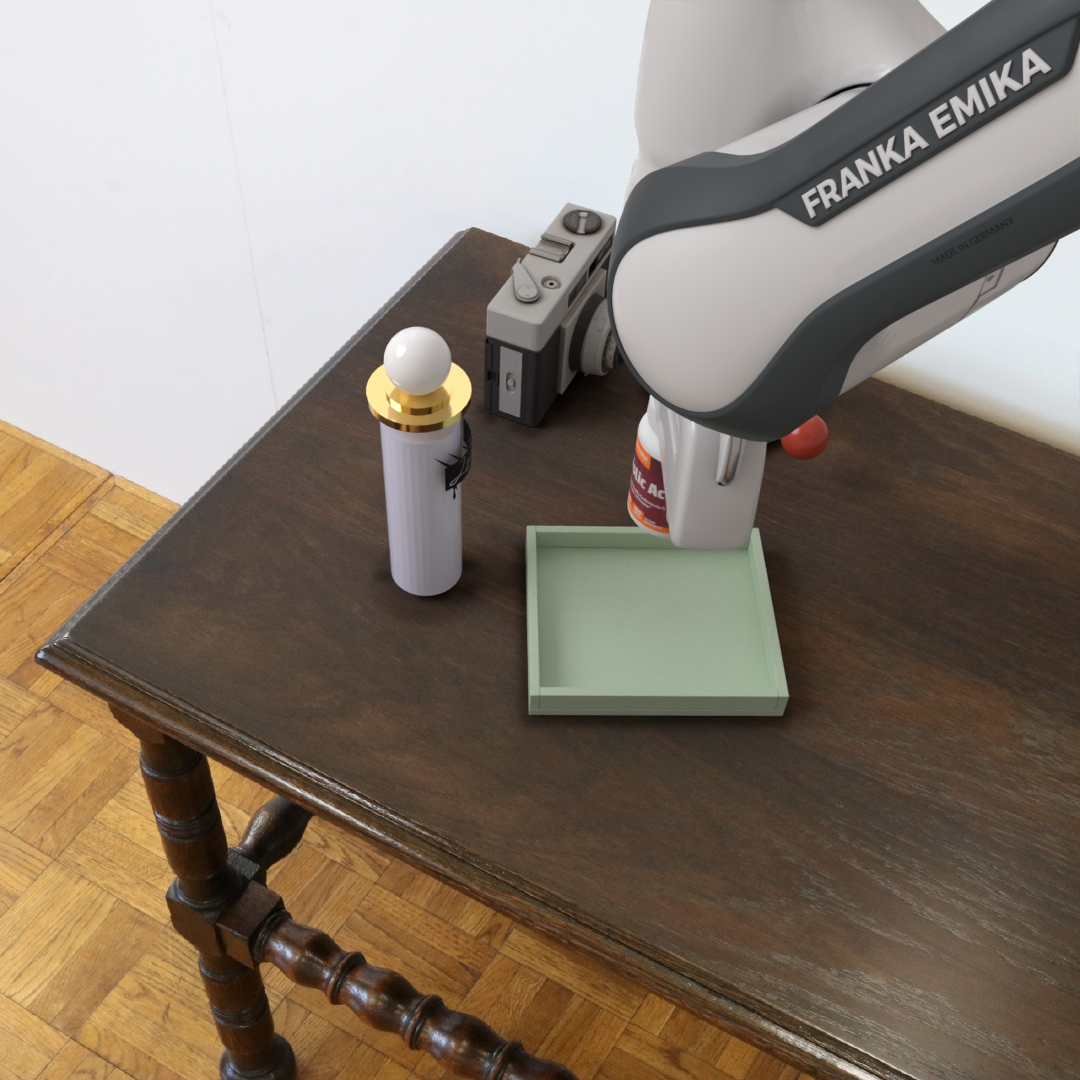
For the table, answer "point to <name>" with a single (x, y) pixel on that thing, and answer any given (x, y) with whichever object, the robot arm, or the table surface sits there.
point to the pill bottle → (648, 479)
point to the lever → (807, 439)
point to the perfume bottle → (422, 457)
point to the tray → (648, 626)
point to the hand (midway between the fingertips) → (675, 473)
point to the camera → (551, 318)
